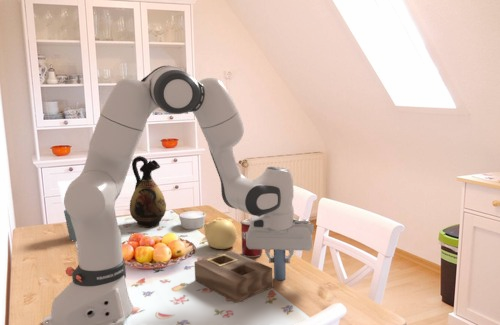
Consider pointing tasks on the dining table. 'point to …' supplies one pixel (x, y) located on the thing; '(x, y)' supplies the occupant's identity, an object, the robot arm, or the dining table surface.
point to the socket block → (233, 275)
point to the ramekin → (192, 219)
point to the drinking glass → (70, 226)
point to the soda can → (245, 250)
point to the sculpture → (220, 233)
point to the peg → (279, 265)
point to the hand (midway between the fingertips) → (279, 262)
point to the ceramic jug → (146, 196)
